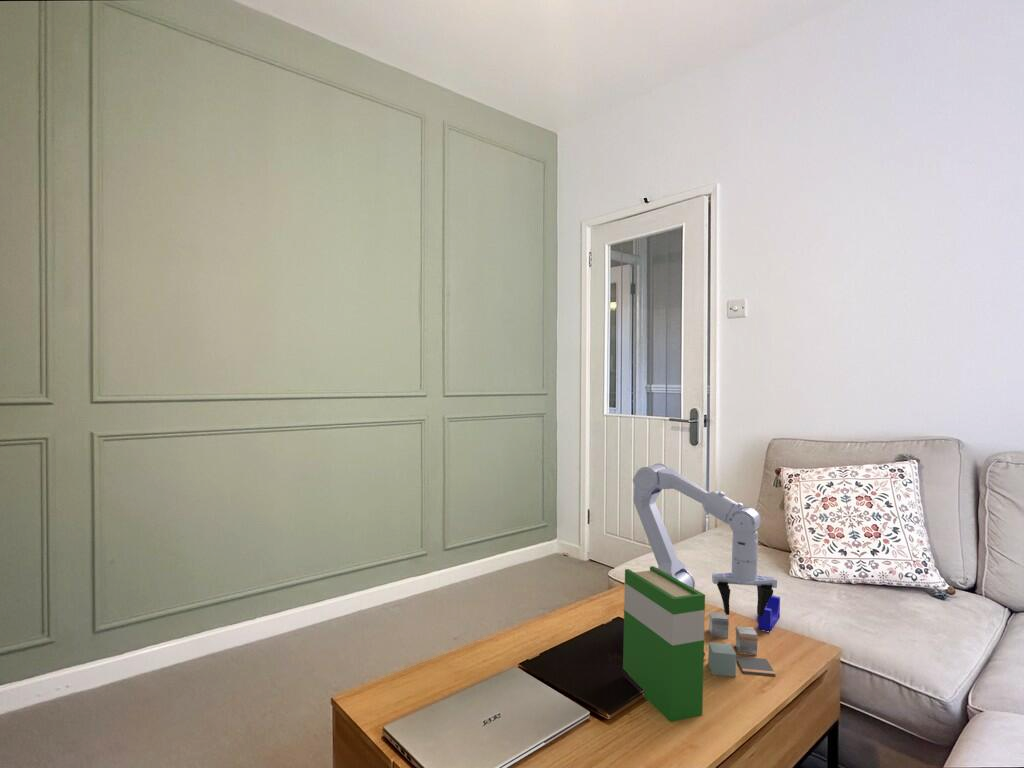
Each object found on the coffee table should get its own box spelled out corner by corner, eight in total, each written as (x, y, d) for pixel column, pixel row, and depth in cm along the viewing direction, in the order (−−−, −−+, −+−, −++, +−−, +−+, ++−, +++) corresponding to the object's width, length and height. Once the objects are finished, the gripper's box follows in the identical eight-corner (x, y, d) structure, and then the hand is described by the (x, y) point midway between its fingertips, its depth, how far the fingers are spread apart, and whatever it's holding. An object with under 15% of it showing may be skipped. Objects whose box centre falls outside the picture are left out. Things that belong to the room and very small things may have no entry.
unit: (712, 674, 128) (712, 652, 128) (708, 662, 133) (708, 641, 133) (735, 676, 127) (736, 654, 127) (730, 664, 133) (730, 643, 133)
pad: (742, 672, 129) (742, 670, 129) (735, 657, 136) (735, 655, 136) (775, 675, 128) (775, 673, 128) (766, 660, 135) (766, 658, 135)
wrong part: (711, 637, 147) (712, 617, 147) (708, 630, 151) (709, 611, 151) (728, 638, 146) (728, 619, 146) (724, 631, 150) (725, 612, 150)
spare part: (739, 653, 138) (739, 633, 138) (735, 645, 142) (735, 626, 142) (757, 655, 138) (757, 634, 137) (752, 647, 142) (753, 627, 141)
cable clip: (762, 614, 162) (763, 593, 162) (779, 618, 160) (780, 596, 159) (752, 628, 152) (752, 606, 152) (770, 633, 150) (770, 610, 150)
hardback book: (622, 676, 127) (624, 569, 126) (651, 671, 129) (653, 566, 129) (670, 722, 110) (673, 599, 110) (702, 715, 113) (705, 594, 112)
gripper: (716, 561, 135) (715, 618, 135) (781, 566, 132) (780, 623, 133) (710, 552, 142) (709, 606, 142) (772, 556, 139) (771, 611, 140)
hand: (743, 614), depth 138 cm, fingers open, 7 cm apart
